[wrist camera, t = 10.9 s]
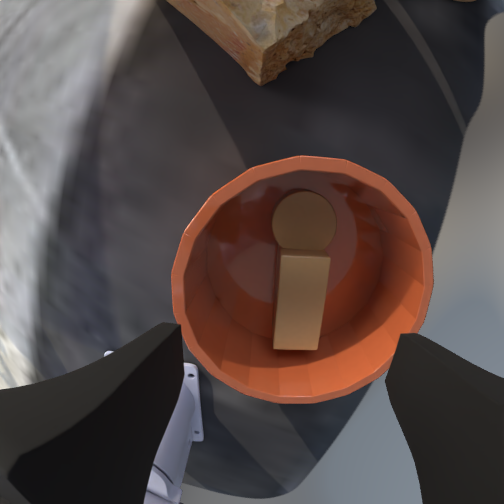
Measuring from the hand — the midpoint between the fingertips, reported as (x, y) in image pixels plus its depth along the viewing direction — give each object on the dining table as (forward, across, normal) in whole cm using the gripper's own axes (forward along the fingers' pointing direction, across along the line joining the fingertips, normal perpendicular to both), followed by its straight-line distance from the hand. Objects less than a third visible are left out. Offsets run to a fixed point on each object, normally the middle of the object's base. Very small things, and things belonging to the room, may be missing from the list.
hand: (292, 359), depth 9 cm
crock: (+10, -1, 0) cm, 10 cm away
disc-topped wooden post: (+10, -1, 0) cm, 10 cm away
